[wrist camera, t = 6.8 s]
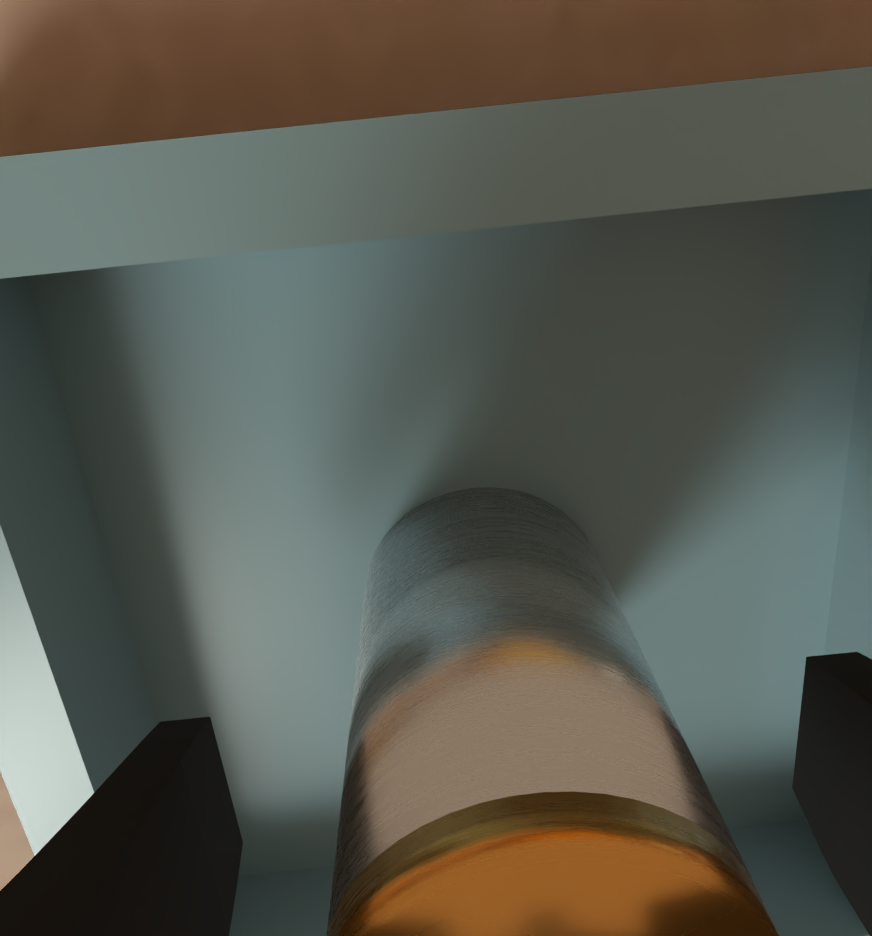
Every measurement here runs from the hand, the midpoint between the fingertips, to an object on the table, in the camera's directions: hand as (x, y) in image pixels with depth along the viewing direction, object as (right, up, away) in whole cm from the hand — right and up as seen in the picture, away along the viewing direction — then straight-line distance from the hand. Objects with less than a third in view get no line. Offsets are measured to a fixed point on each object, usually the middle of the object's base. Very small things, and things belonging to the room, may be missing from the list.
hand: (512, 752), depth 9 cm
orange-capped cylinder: (0, +1, +4) cm, 4 cm away
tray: (0, +2, +4) cm, 4 cm away
